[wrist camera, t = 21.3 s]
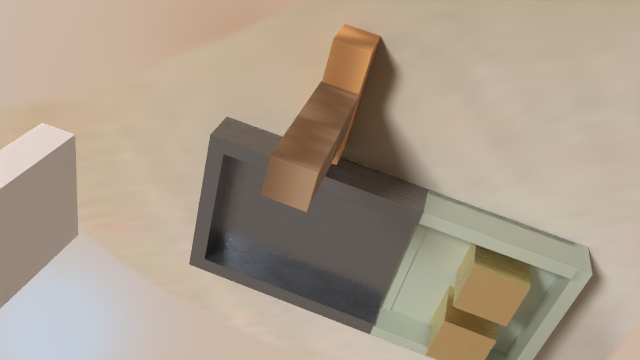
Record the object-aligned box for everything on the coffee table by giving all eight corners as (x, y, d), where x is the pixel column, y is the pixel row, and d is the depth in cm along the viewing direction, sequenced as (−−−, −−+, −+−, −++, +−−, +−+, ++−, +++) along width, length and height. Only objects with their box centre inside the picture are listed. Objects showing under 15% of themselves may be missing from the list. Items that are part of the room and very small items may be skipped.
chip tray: (588, 247, 43) (592, 274, 41) (512, 360, 51) (512, 389, 48) (428, 189, 44) (423, 212, 42) (376, 309, 52) (369, 334, 49)
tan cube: (497, 303, 47) (496, 340, 44) (477, 336, 50) (475, 374, 46) (449, 285, 48) (444, 320, 44) (431, 318, 50) (425, 355, 47)
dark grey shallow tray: (428, 189, 44) (423, 212, 42) (376, 309, 52) (369, 334, 49) (226, 116, 46) (210, 134, 43) (204, 243, 53) (189, 264, 50)
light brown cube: (529, 252, 44) (530, 288, 41) (506, 290, 46) (506, 326, 43) (476, 233, 44) (473, 267, 41) (456, 271, 47) (452, 306, 43)
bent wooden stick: (381, 36, 39) (333, 122, 29) (346, 145, 44) (294, 253, 34) (344, 23, 40) (282, 104, 29) (313, 133, 44) (251, 236, 34)
